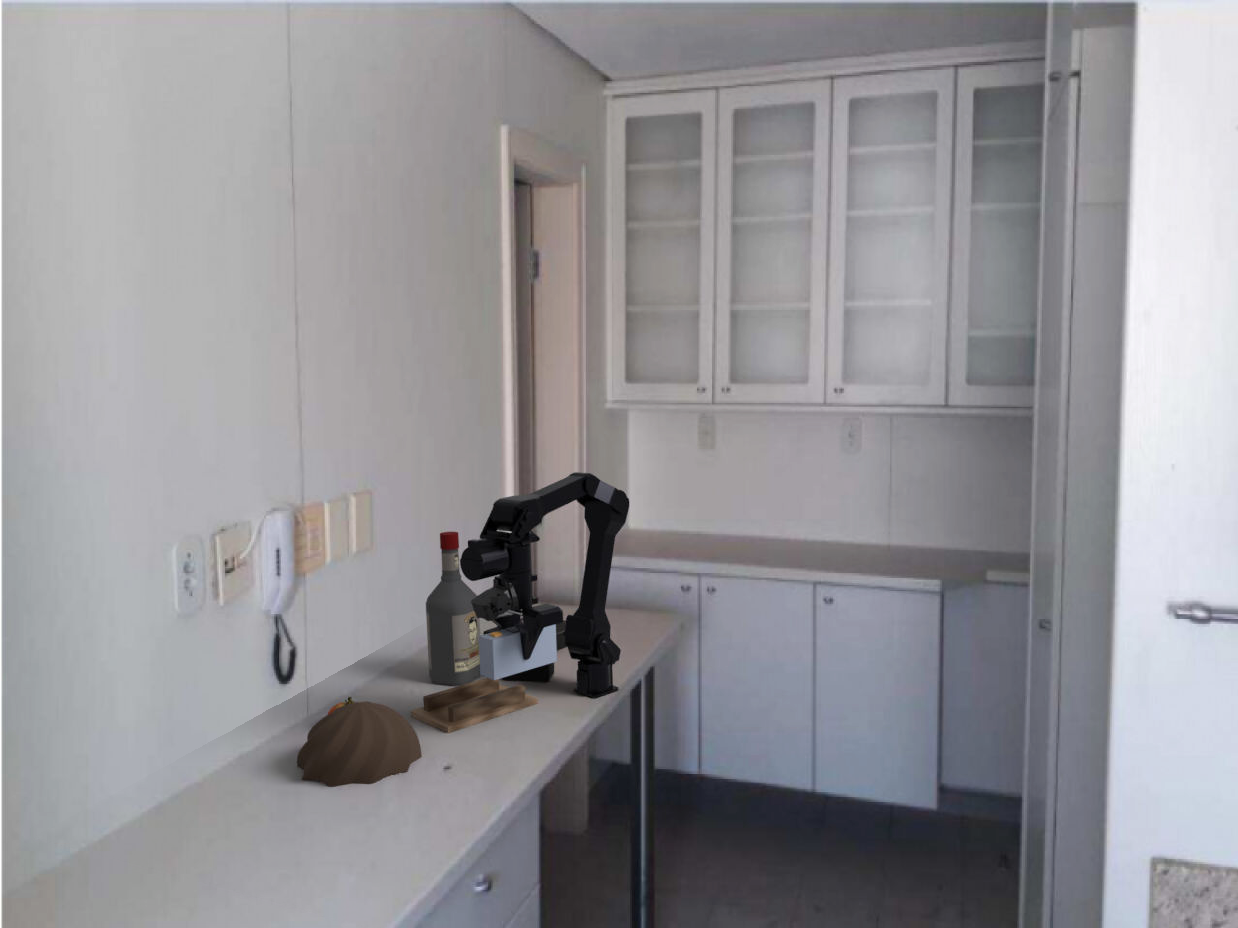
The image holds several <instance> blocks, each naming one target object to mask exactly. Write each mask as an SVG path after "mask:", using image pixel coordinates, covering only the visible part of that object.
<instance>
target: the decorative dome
mask: <svg viewBox="0 0 1238 928" xmlns="http://www.w3.org/2000/svg"><path fill="white" fill-rule="evenodd" d="M354 702H355V703H352V704H347V705H344V706H341V707H339V708H337V709H335V710H334V711H333V712H332V713H330V714H328V713H327V714H326V715H325V716H324V717H321V718H320V720H319V721H317V722H316V723H315V724H314V725H312V727H311V729H310V730H309V731H308V734H307V735H306V736H307V738H306V739H307V741H306V742H305V743H304V744H303V745H302V747H301V748H300V749H299V751H298V754H297V756H296V765H297V767H298V769H300V770H302V772H303V773H302V777H301V780H302V781H307V782H308V781H309V782H318V783H319V782H320V783H321V784H323V785H324V786H326V787H329V788H333V787H334V788H335V787H340V786H347V785H354V784H356V785H372V784H375V783H378V782H380V781H381V780H383V778H384V779H385V778H388V777H392V776H391V775H393V776H397V775H400V774H399V773H402V774H405V773H408V771H409V769H410V767H411V764H413V763H415V762H417V761H418V760H419V759H422V747H421V743H420V740H419V737H418V735H417V732H416V730H415V729H414V727H413V726H412V725H411V723H410V722H409V721H408V720H407V719H406V718H405V717H404V716H403V715H401V714H400V713H399V712H398V711H396V710H395V709H393V708H391V707H389V706H387V705H384V704H380V703H376V702H372V701H371V702H370V701H354ZM396 774H397V775H396ZM377 781H378V782H377Z"/></svg>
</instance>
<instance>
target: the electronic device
mask: <svg viewBox="0 0 1238 928" xmlns="http://www.w3.org/2000/svg"><path fill="white" fill-rule="evenodd" d="M554 674H555V662H553V663H550V664H546V665H543V666H540V667H537V668H533V669H530V670H527V671H523V672H520V673H517V674H513V675H510V676H507V677H503V678H501V679H502V680H503V681H506V682H522V683H523V682H526V683H528V682H529V683H548V682H549V680H551V678H552V677H553V676H554Z"/></svg>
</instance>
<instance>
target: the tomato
mask: <svg viewBox="0 0 1238 928" xmlns="http://www.w3.org/2000/svg"><path fill="white" fill-rule="evenodd" d="M355 702H356V701H354V700H352V696H348V697H347V699H345V700H344V702H338V703H336V704H335V705H333V706H332V707H331V708H330V709H329V710H328V712H327V715H328V714H330V713H332V712H333V711H334V710H335V709H337V708H339V707H341V706H344V705H347V704H352V703H355Z"/></svg>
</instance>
